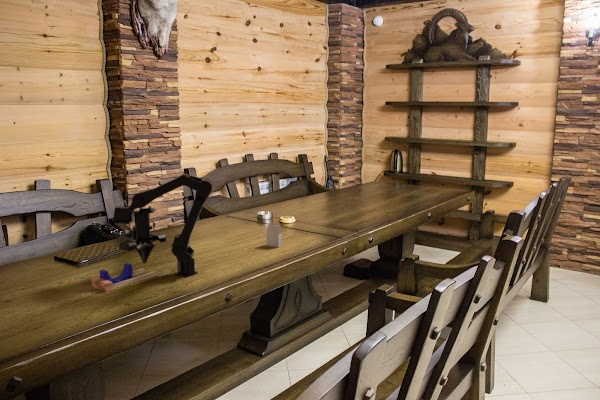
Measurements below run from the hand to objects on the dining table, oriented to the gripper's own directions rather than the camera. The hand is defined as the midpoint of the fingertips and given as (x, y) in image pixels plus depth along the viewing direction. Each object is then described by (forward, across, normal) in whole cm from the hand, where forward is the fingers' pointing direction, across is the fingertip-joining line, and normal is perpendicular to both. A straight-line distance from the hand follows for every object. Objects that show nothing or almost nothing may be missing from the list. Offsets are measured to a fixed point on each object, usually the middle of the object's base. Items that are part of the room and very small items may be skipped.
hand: (144, 262), depth 215 cm
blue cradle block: (+5, +12, 0) cm, 13 cm away
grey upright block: (+5, -64, +14) cm, 66 cm away
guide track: (+5, +10, 0) cm, 11 cm away
